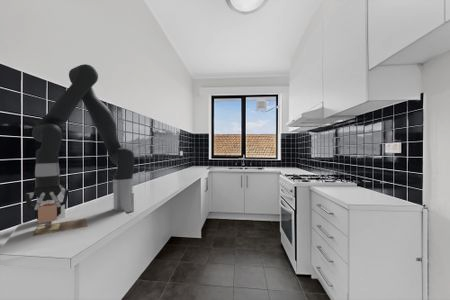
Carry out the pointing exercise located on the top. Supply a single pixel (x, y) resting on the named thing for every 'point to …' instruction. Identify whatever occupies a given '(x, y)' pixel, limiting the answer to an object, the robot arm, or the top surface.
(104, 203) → the top surface
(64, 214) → the milk carton
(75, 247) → the top surface
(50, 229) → the post board
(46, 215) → the sleeve
